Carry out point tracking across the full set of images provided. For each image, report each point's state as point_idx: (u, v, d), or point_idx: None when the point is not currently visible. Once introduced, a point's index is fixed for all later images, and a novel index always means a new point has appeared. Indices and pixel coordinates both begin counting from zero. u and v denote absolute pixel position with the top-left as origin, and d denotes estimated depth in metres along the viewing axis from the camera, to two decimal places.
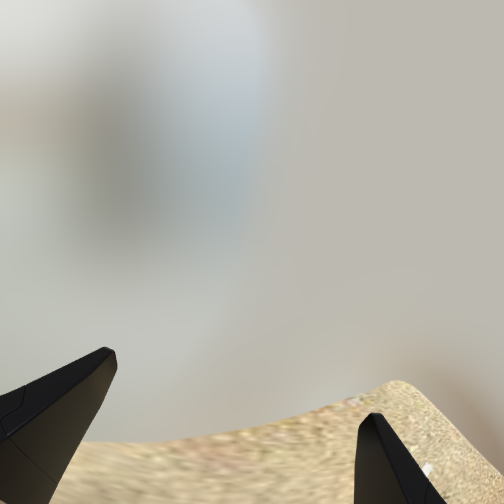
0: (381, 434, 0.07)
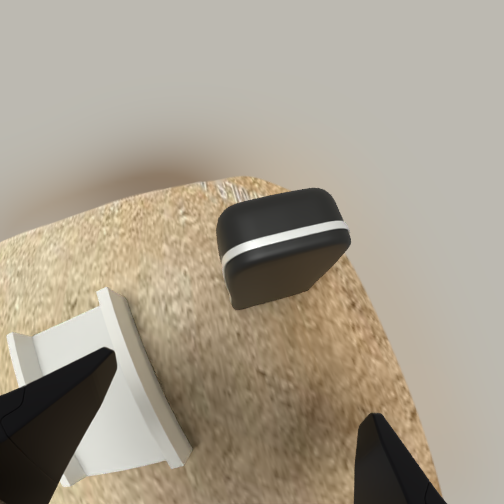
0: (381, 434, 0.07)
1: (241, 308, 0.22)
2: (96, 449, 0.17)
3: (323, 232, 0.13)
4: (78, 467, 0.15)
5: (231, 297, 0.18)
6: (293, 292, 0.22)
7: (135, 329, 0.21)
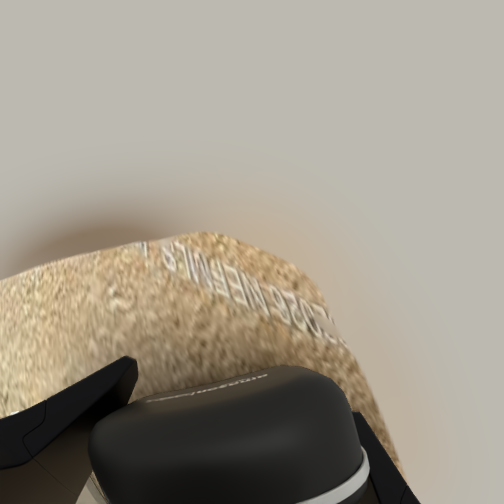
0: (358, 433, 0.07)
1: None
2: None
3: None
4: None
5: None
6: None
7: None
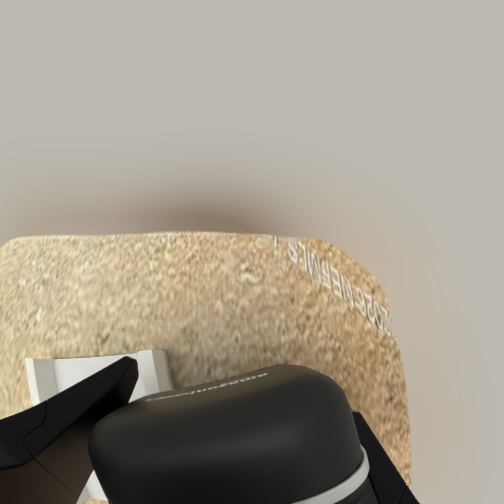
0: None
1: None
2: None
3: None
4: (84, 490, 0.14)
5: None
6: None
7: (172, 386, 0.20)
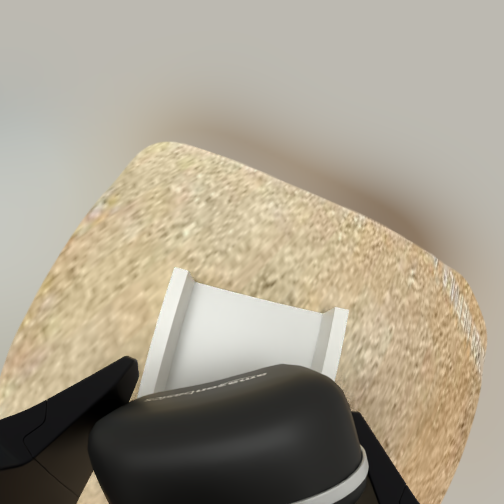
0: (357, 433, 0.07)
1: None
2: None
3: None
4: None
5: None
6: None
7: None
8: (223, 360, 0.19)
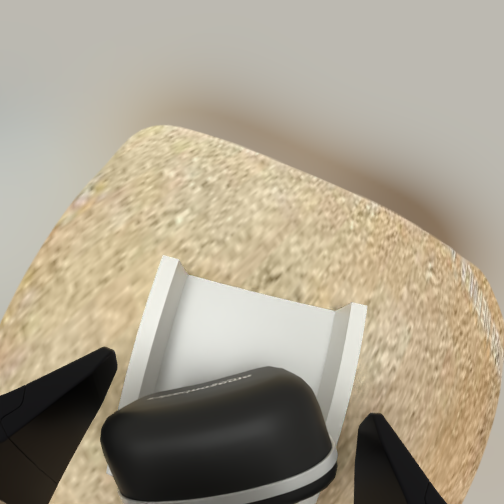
0: (381, 434, 0.07)
1: None
2: None
3: (279, 494, 0.05)
4: None
5: None
6: None
7: None
8: (220, 366, 0.16)
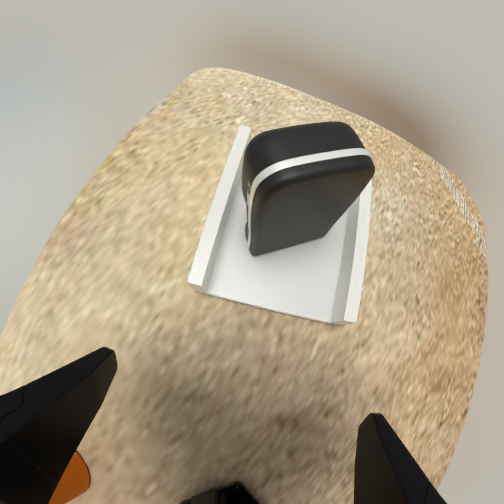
0: (381, 434, 0.07)
1: (259, 254, 0.22)
2: (249, 272, 0.22)
3: (351, 157, 0.13)
4: (209, 278, 0.22)
5: (253, 236, 0.18)
6: (311, 236, 0.22)
7: None
8: None
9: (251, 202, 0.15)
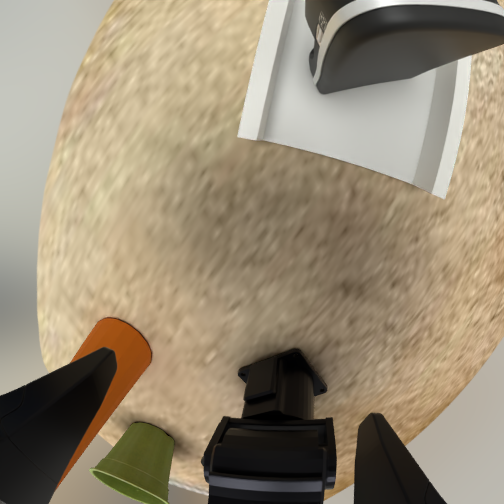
0: (381, 434, 0.07)
1: (330, 92, 0.14)
2: (316, 113, 0.15)
3: (488, 13, 0.03)
4: (266, 122, 0.15)
5: (326, 78, 0.10)
6: (397, 78, 0.12)
7: None
8: None
9: (327, 42, 0.07)
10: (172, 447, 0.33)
